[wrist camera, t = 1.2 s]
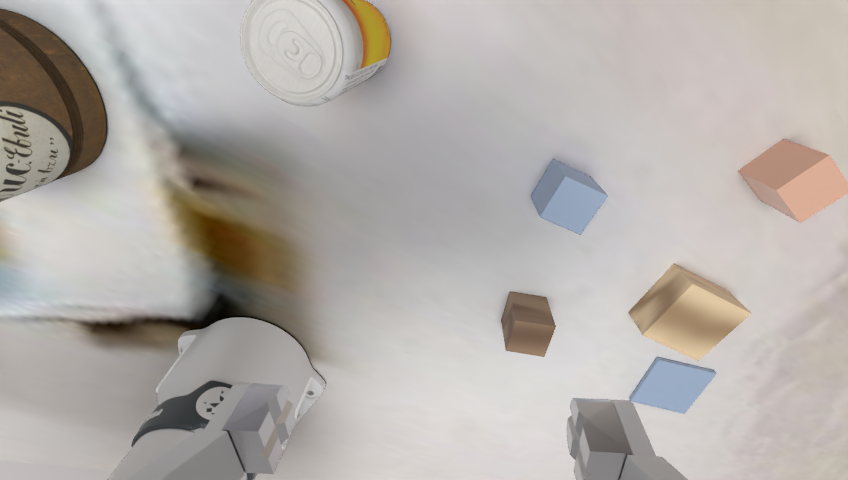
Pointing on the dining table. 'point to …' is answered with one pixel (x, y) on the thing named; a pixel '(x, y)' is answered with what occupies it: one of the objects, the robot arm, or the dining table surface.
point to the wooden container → (43, 108)
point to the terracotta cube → (795, 179)
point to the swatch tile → (672, 385)
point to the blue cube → (567, 197)
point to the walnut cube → (527, 324)
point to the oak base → (687, 313)
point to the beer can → (313, 47)
